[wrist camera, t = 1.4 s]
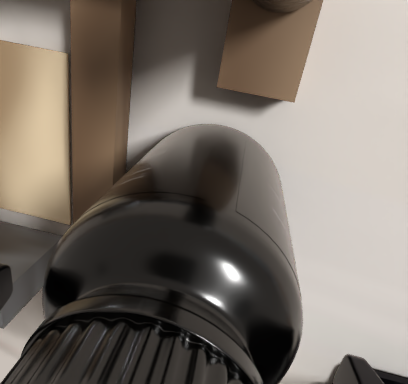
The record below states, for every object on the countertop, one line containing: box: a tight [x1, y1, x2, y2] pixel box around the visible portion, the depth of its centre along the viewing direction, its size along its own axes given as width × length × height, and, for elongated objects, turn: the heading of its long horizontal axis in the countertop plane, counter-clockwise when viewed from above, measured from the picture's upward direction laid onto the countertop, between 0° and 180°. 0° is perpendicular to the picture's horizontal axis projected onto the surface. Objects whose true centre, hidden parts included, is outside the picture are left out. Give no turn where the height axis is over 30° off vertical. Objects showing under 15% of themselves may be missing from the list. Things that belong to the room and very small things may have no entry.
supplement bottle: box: [0, 124, 303, 384], centre depth 10 cm, size 7×7×12 cm
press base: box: [0, 0, 323, 329], centre depth 13 cm, size 22×20×5 cm
